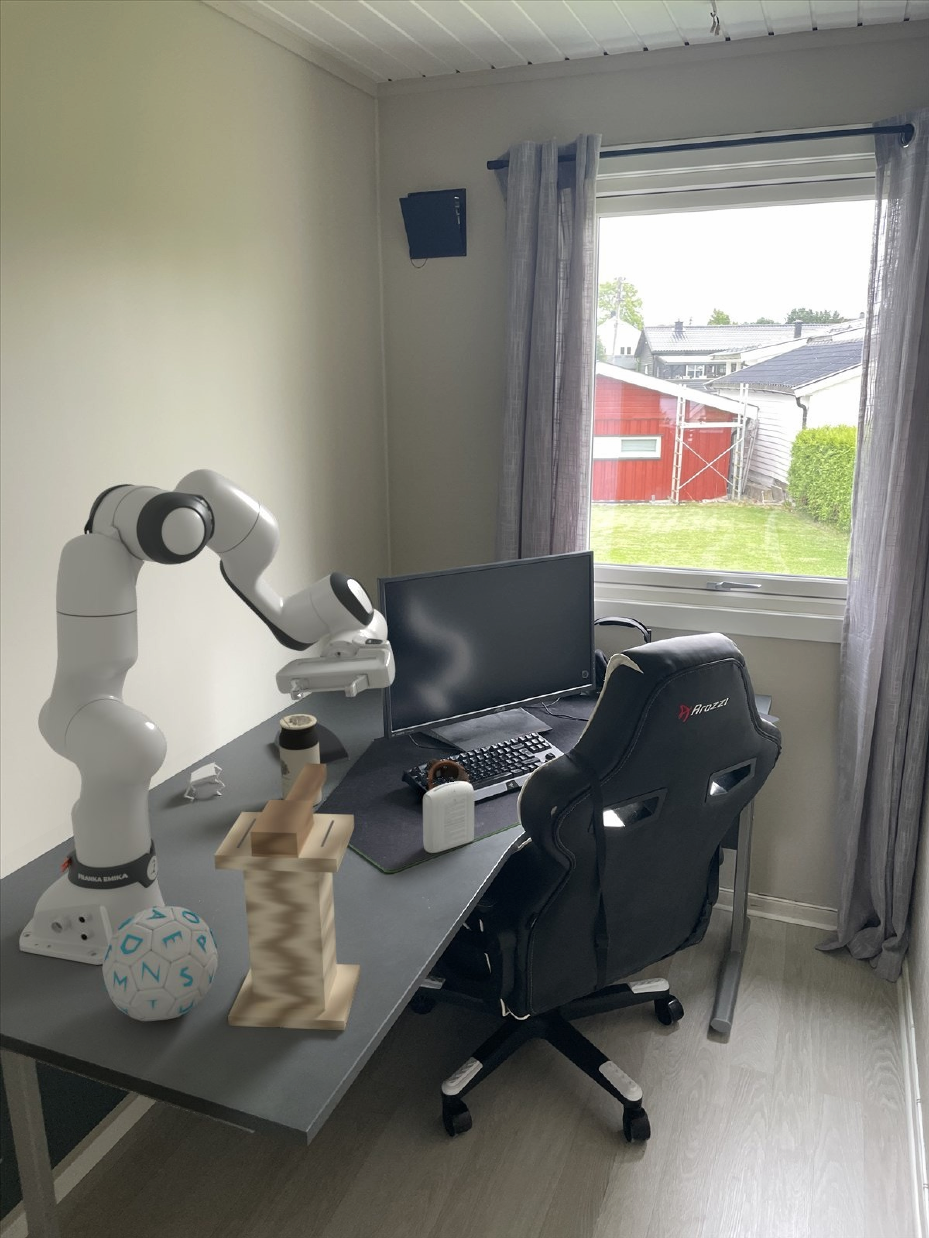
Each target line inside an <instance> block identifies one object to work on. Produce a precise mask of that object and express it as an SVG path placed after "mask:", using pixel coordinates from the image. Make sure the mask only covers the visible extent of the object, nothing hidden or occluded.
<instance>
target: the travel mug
mask: <svg viewBox="0 0 929 1238" xmlns="http://www.w3.org/2000/svg"><path fill="white" fill-rule="evenodd" d="M317 721H318V720H317V718H316V717H315V716H313V715H311V714H303V713H298V714H297V713H296V714H291V715H287V716H284V717H282V718H281V719H280V720H279V721H278V722H279V723H278V724H279V727H281V729H280V730H282V731H281V733H280V735H279V747H280V751H279V756H280V757H279V758H280V759H279V760H280V774H281V775H280V778H281V779H280V780H281V789H282V790H281V792H282V800H285V799H286V797H287V796H288V794H289V792H290V790H291V788H292V787H293V785H294V783H295V781H296V780H297V778H298V776H299V774H300V773H301V771H302V769H303V767H304V766H305V764H306V763H309V764H320V756H319V736H318V732H317V731H316V729H315V723H317ZM322 800H323V799H322V789H321V790H320V792H319V794H318V796H317V798H316V800H315V802H314V804H313V807H315V806H317V805H318V804H319V803H321V801H322Z"/></svg>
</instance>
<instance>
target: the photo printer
mask: <svg viewBox="0 0 929 1238" xmlns="http://www.w3.org/2000/svg"><path fill="white" fill-rule="evenodd" d="M439 785H440V786H437V787H435V788H433V789H431V790H430V791H428V790H427V792H426V793H425V794H424V795H423V796H422V797H423V798H422V839H423V840H422V843H423V846H424V850H425V852H427V853H430V854H433V853H434V854H435V853H440V852H443V851H446V850H450V849H452V848H455V847H458V846H461V845H464V844H465V845H466V844H468V843H471V842H472V841H474V839H475V790H474V787H473V785H472V784H471V783H470V784H469V783H468V782H465V781H456V782H449V783H447V782H446V783H443V784H439Z"/></svg>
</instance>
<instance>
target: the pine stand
mask: <svg viewBox="0 0 929 1238" xmlns="http://www.w3.org/2000/svg"><path fill="white" fill-rule="evenodd" d="M261 813H262V812H261V811H260V812H259V811H241V813H239V814H240V815H239V816H238V817H237V819H236V821H235V822H234V823H233V826H232V827H231V828H230V830H229V831H228V833H227V835H226V836H225V838H224V839H223V841H222V842H221V844H220V845H219V847H218V849H217V850H216V852H215V853H214V855H213V859H214V868H215V870H231V871H232V870H236V871H238V870H239V871H242V873H243V883H244V884H243V885H244V896H245V907H246V908H245V909H246V910H245V911H246V920H247V921H246V923H247V936H248V946H249V947H248V948H249V960H250V968H249V970H248V973H247V974H246V976H245V979H244V981H243V983H242V986H241V987H240V990H239V992H238V994H237V997H236V998H235V1001H234V1003H233V1005H232V1007H231V1010H230V1011H229V1013H228V1015H227V1019H228V1026H230V1027H231V1026H232V1027H255V1028H256V1027H257V1028H260V1027H261V1028H276V1027H277V1028H276V1029H282V1027H283V1029H303V1030H304V1029H305V1030H328V1031H346V1026H347V1024H346V1023H347V1022H348V1020H349V1016H350V1012H351V1009H350V1008H352V1004H353V1002H354V998H353V997H355V995H354V993H355V994H356V991H355V989H357V987H358V984H357V982H358V983H359V980H360V977H359V975H360V976H361V965H360V964H340V963H338V962H337V945H336V944H337V943H336V925H335V924H336V922H335V920H336V919H335V903H334V886H333V885H334V881H333V880H334V878H333V874H334V873H335V874H337V873H338V871H339V869H340V865H341V864H342V861H343V858H344V856H345V854H346V851H347V848H348V845H349V842H350V839H351V837H352V834H353V833H354V832H353V831H354V829H355V816H354V814H343V813H342V814H337V813H333V814H332V813H313V818H314V825H313V828H312V830H311V832H310V834H309V836H308V838H307V840H306V842H305V845H304V847H303V849H302V851H301V853H300V855H299V857H298V858H285V857H252V855H251V854H252V848H251V835H250V831H251V830H252V828H253V826H254V825H255V823H256V821H257V820H258V818H259V816H260V815H261ZM358 979H359V980H358ZM356 986H357V987H356ZM352 1001H353V1002H352ZM278 1027H280V1028H278Z"/></svg>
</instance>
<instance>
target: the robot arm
mask: <svg viewBox="0 0 929 1238" xmlns="http://www.w3.org/2000/svg"><path fill="white" fill-rule="evenodd" d="M90 508H91V509H90V512H89V514H88V515H89V516H88V519H87V521H86V523H85V525H84V528H83V531H84V532H83V533H84V534H80V535H78V536H76V537H74V538H71V539H69V541H67V542H66V543H65V545H64V546H63V548H62V549H61V553H60V558H59V562H58V570H57V580H56V595H55V597H56V601H55V602H56V603H55V605H56V606H55V607H56V640H57V641H56V642H57V643H56V645H57V646H56V647H57V649H56V651H57V658H56V659H57V660H56V670H55V676H54V681H53V685H52V688H51V694H50V696H49V697H48V699H46V701H45V702H44V703H43V705H42V706H41V708H40V711H39V713H38V718H37V719H38V721H37V723H38V730H39V733H40V734H41V736H42V737H43V739H44V740H45V742H46V743H47V744H48V745H49V747H50V748H51V749H52V750H53V752H55V753H56V754H58V756H60V757H63V758H65V759H66V760H68V761H69V762H71V763H73V764H74V765H75V766H76V768H77V769H78V771H79V774H80V779H81V784H80V785H81V786H80V793H79V798H77V800H75V803H74V804H73V805H72V808H71V811H70V817H71V824H72V831H73V841H74V849H73V850H71V852H69V853H68V855H67V856H66V859H65V860H64V861H63V863H62V864H61V865H60V868H61V873H65V871H66V869H67V870H68V871H67V872H66V873H65V874H64V875H62V876H61V877H59V878H58V879H57V880H56V881H54V882H53V883H52V884H51V885H50V886H49V887H47V889H46V890H45V891H44V892H43V893H42V895H41V896H40V898H39V899H38V900H37V903H36V905H35V908H34V912H33V917H32V918H31V919H30V921H28V923H27V924H26V926H25V927H24V928H23V930H22V931H21V934H20V937H19V941H18V942H19V943H18V944H19V946H18V947H19V950H20V951H21V952H23V953H25V952H26V953H29V954H36V955H40V956H47V957H52V958H57V959H63V960H68V961H73V962H80V963H85V964H90V965H96V966H97V965H103V959H104V955H105V952H106V949H107V947H108V944H109V942H110V940H111V938H112V936H113V935H114V934H115V932H116V931H117V930H118V928H119V927H120V926H121V925H122V923H124V922H125V921H127V920H128V919H130V918H131V917H133V916H134V915H135V914H137V913H139V912H141V911H143V910H146V909H149V908H152V907H154V906H157V907H164V906H166V904H165V902H164V899H163V896H162V893H161V890H160V886H159V882H158V859H157V854H156V847H155V841H154V839H153V838H152V836H151V835H152V834H151V826H150V814H149V790H150V786H151V781H152V777H154V776H155V775H156V773H158V772H159V771H160V769H161V767H162V766H163V764H164V762H165V759H166V755H167V750H168V748H167V747H168V746H167V743H168V742H167V738H166V737H165V734H164V731H162V729H161V728H160V727H159V726H158V725H157V724H156V723H155V722H154V721H153V720H152V719H151V718H150V717H149V716H148V715H147V714H145V713H143V711H139V710H137V709H135V708H133V707H132V706H128V705H126V704H125V702H124V699H123V688H124V684H125V680H126V676H127V674H128V671H129V670H130V669H132V667H133V666H135V664H136V663H137V660H138V656H139V639H138V638H139V634H138V632H139V631H138V628H139V627H138V598H137V597H138V596H137V588H136V586H137V584H138V583H137V582H138V577H139V573H140V572H141V568H142V567H143V565H144V564H145V562H151V563H158V564H161V565H169V566H170V565H180V564H185V563H188V562H189V561H191V560H193V559H194V558H196V557H197V556H198V555H199V554H200V553H201V552H202V551H203V549H204V548H205V547H207V548H209V549H210V550H211V551H212V552H214V553H215V555H217V556H218V557H219V558H220V560H219V572H220V573H221V575H222V578H223V579H224V581H225V582H226V584H227V585H228V586H229V587H230V589H231V590H232V591H233V592H234V593H235V594H236V595H237V596H238V597H239V599H240V600H242V601H243V602H244V603H245V605H246V606H248V608H249V609H251V611H252V612H253V613H254V614H255V615H256V616H257V617H258V618H259V619H260V620H261V621H262V622H263V623H264V624H265V625H266V627H267V628H268V629H269V631H270V632H271V633H272V635H273V636H274V638H275V639H276V641H277V642H278V643H279V644H280V645H282V646H283V647H284V648H287V649H290V650H293V651H297V652H303V651H306V650H307V649H309V648H310V647H312V646H314V645H315V644H316V643H318V642H319V641H320V640H322V639H323V638H326V637H328V636H331V639H330V640H329V641H328V642H327V644H326V645H325V646H324V648H322V650H321V653H320V656H319V657H317V656H316V657H303V658H296V659H293V660H291V661H289V662H287V664H285V665H284V666H283V667H282V668H281V669H279V671H277V672H276V674H275V681H276V685H277V689H278V691H279V692H280V694H283V695H285V694H290V698H291V700H292V701H299V700H300V701H301V700H302V698H303V697H304V696H305V695H304V694H305V693H317V692H332V691H333V692H335V691H336V692H337V691H344V693H345V694H344V695H345V697H346V698H351V697H353V698H354V697H356V695H357V694H358V693H361V692H362V691H364V690H367V689H368V690H369V689H383V688H387V687H389V686H391V685H392V684H393V682H394V680H395V678H396V677H395V676H396V674H395V673H396V665H395V659H394V654H393V650H392V646H391V643H390V641H389V640H387V639H388V625H387V620H386V619H385V617H384V615H383V614H382V613H381V612H380V611H379V610H377V609H375V608H374V604H373V601H372V599H371V597H370V595H369V593H368V592H367V590H366V589H365V587H364V585H362V583H361V582H360V581H359V580H358V579H356V578H354V577H352V576H350V575H349V574H345V573H344V572H338V571H335V572H332V573H331V574H328V575H327V576H325V577H322V578H320V580H319V579H318V580H317V581H315V582H314V583H312V584H311V585H309V586H307V587H306V588H304V589H302V590H300V591H299V592H296V593H295V594H292V595H289V596H280V595H278V593H277V592H276V591H275V590H274V589H273V588H272V587H271V585H269V583H267V582H266V581H265V580H264V578H263V577H262V574H263V573H264V572H265V571H266V569H267V568H268V566H270V564H271V563H272V562H273V560H274V558H275V557H276V554H277V552H278V550H279V549H278V548H279V545H280V540H281V529H280V526H279V523H278V520H277V519H276V517H275V515H274V513H272V512H271V511H270V509H269V508H268V507H266V505H265V504H263V503H262V502H261V501H260V500H258V499H257V498H256V497H255V496H254V495H252V494H251V493H250V492H248V491H247V490H246V489H244V488H243V487H241V486H240V485H239V484H237V483H235V482H234V481H232V480H230V479H229V478H228V477H225V476H224V475H222V474H220V473H218V472H216V471H213V470H211V469H207V468H206V469H205V468H202V469H195V470H193V471H191V472H189V473H187V474H186V475H185V476H184V477H182V479H180V480H179V482H178V483H177V484H176V486H175V487H174V489H173V490H168V489H167V490H166V489H164V488H163V489H162V488H159V487H156V486H152V485H143V484H142V485H141V484H139V485H137V484H136V485H135V484H130V483H128V484H127V483H124V484H117V485H114V486H110V487H109V488H106V489H105V490H103V491H102V492H101V493H99V495H98V496H97V497H96V499H95V500H94V502H93V503H92V506H91V507H90Z"/></svg>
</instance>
